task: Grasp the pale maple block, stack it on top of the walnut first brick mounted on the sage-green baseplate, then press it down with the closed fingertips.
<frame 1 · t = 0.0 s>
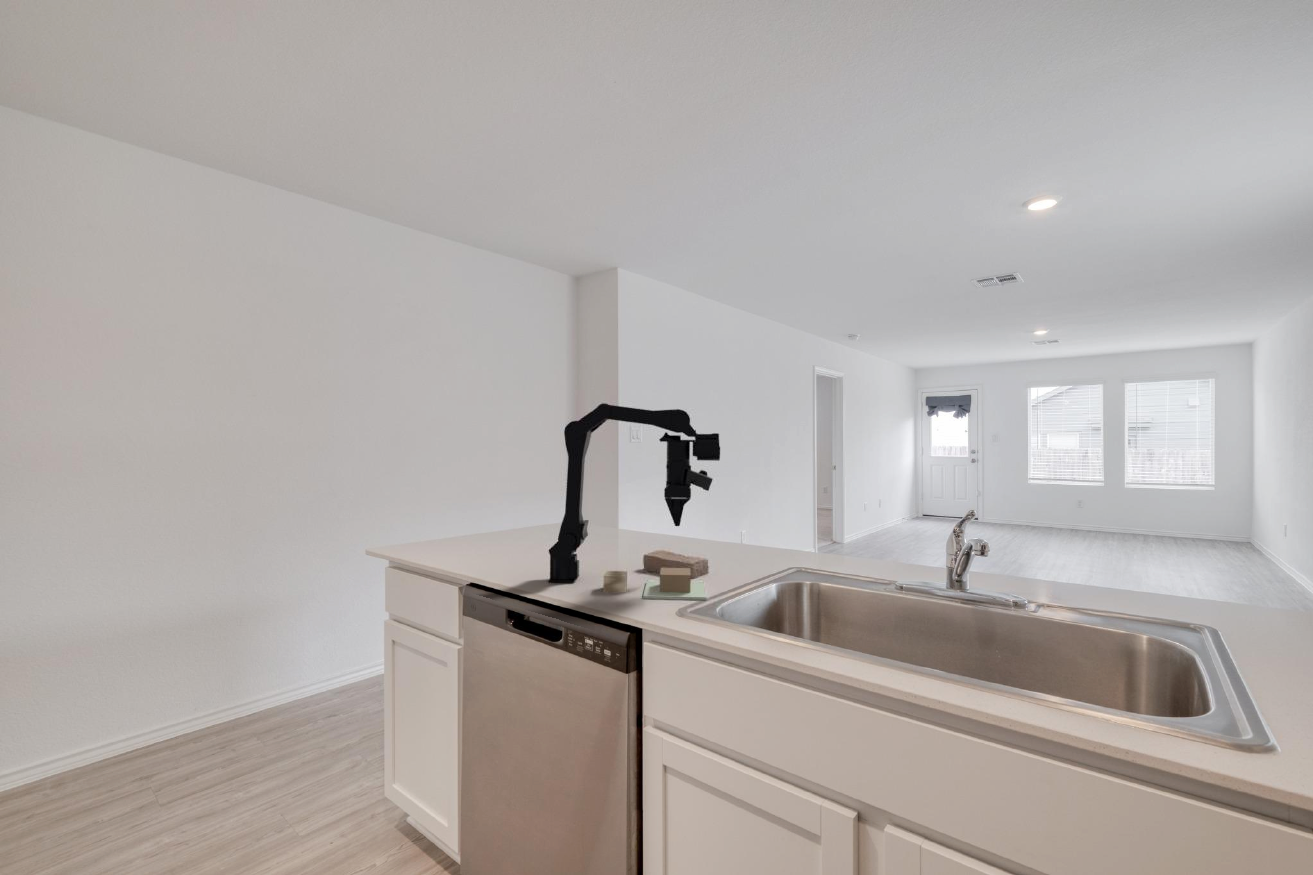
hand: (677, 523, 143), 15 cm above the countertop, fingers open, 9 cm apart
baseplate: (675, 590, 135), on the countertop
brick: (675, 573, 155), on the countertop
maple block: (615, 590, 136), on the countertop
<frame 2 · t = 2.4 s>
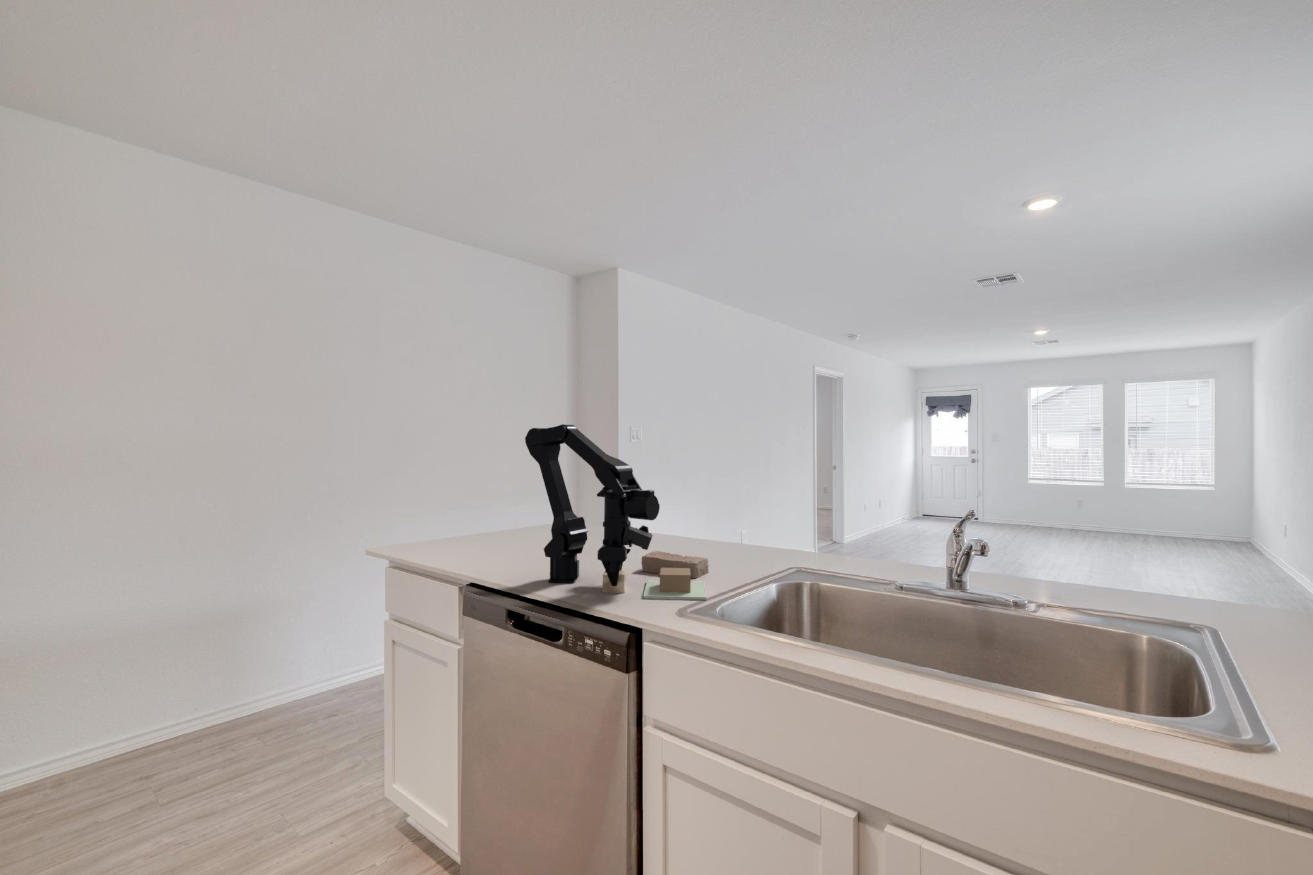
hand: (615, 583, 136), 2 cm above the countertop, fingers closed on maple block, 5 cm apart
maple block: (614, 589, 136), on the countertop, touching gripper
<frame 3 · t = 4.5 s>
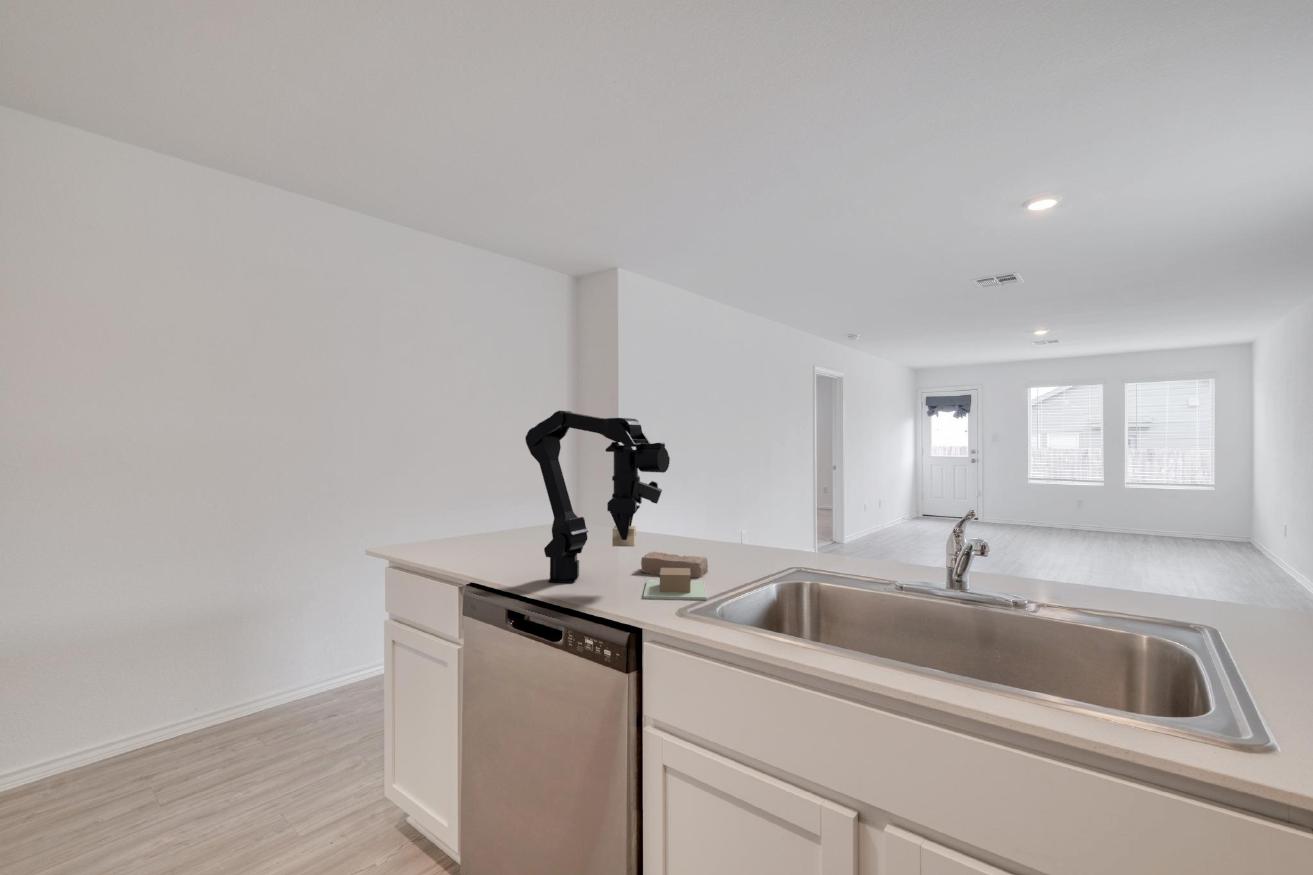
hand: (625, 537, 136), 12 cm above the countertop, fingers closed on maple block, 5 cm apart
maple block: (624, 544, 136), point 11 cm above the countertop, touching gripper
when the fingers open (7 cm above the countertop, at t = 6.4 s): maple block drops 1 cm, resting on baseplate.
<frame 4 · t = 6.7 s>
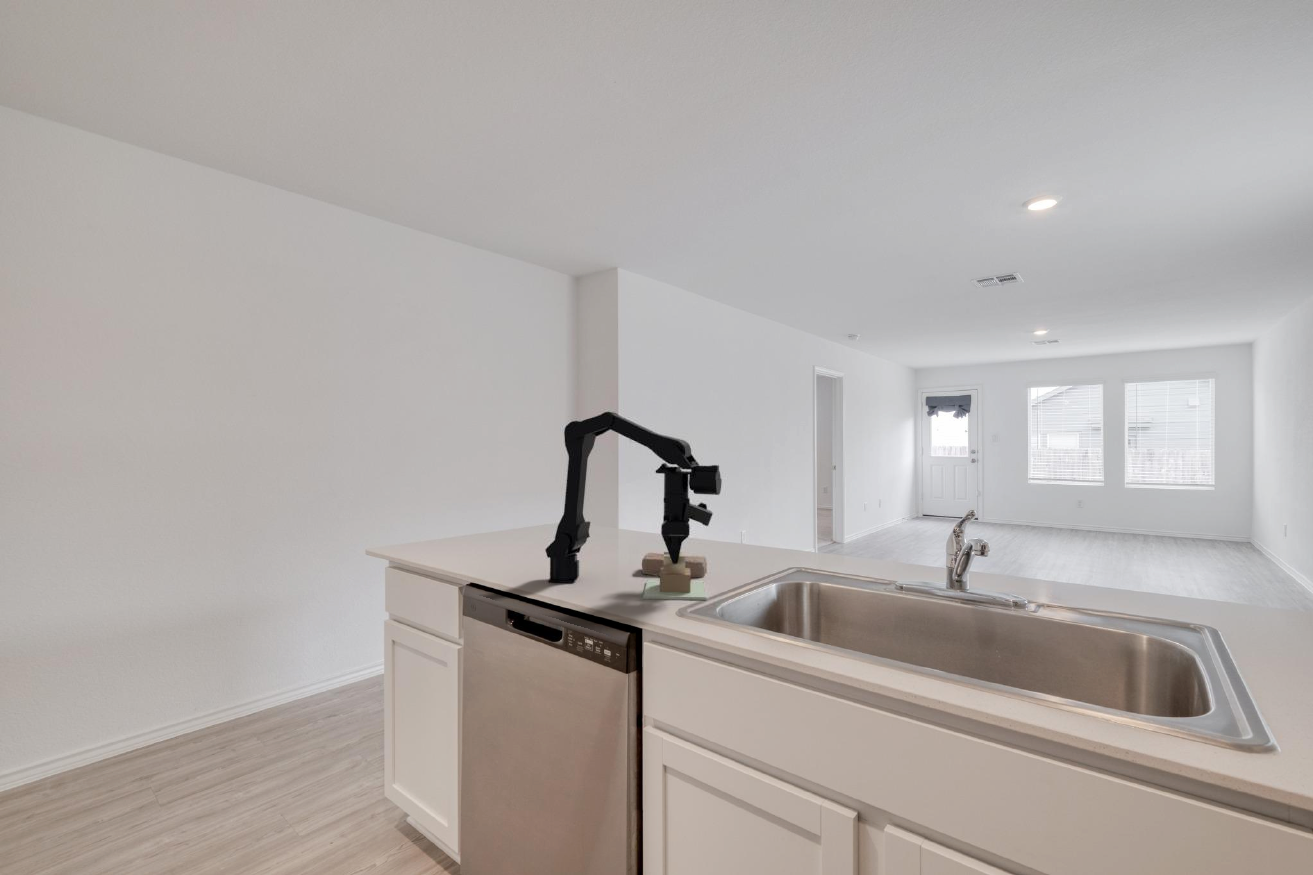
hand: (675, 559, 135), 7 cm above the countertop, fingers open, 8 cm apart
maple block: (674, 571, 135), point 5 cm above the countertop, touching baseplate
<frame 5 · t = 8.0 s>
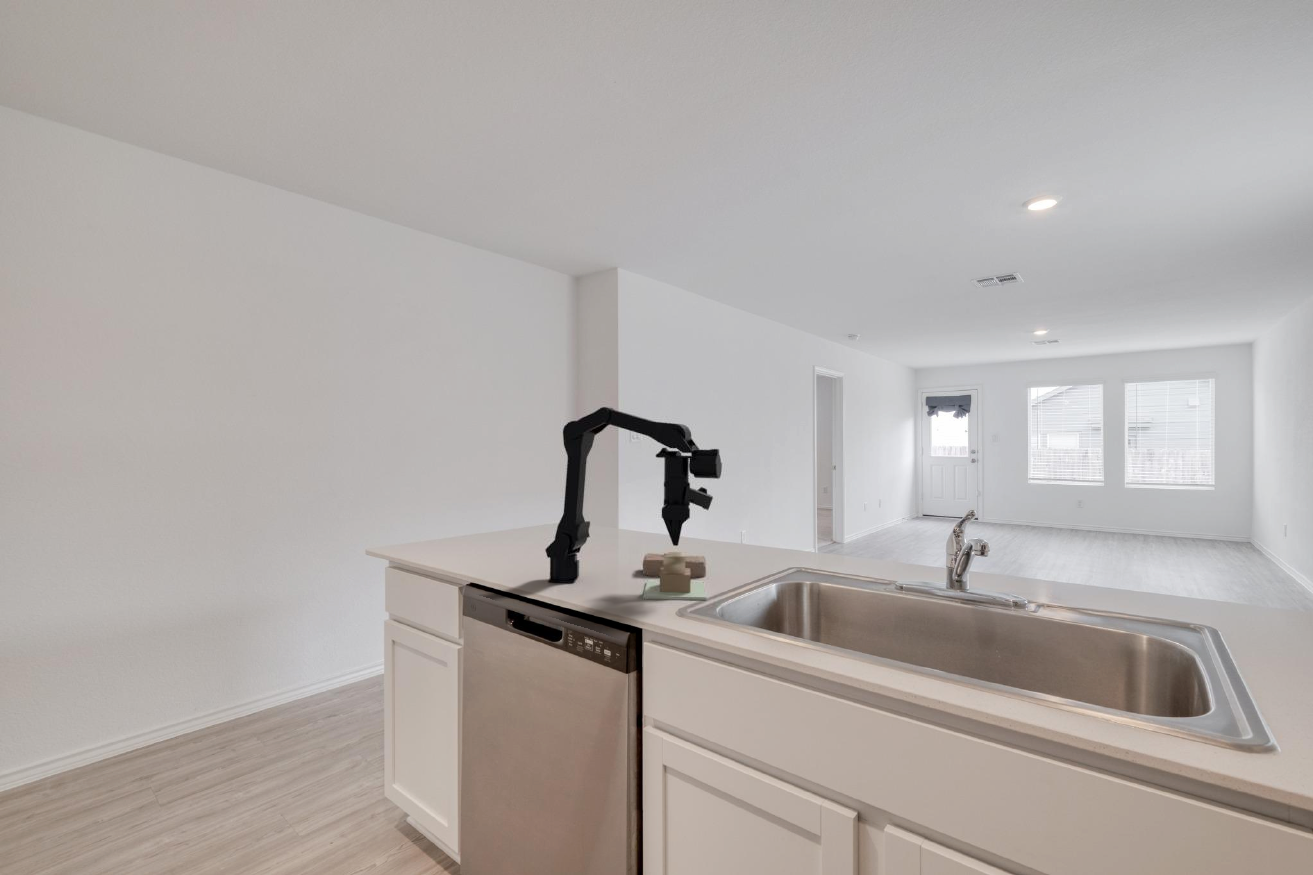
hand: (675, 544, 135), 11 cm above the countertop, fingers open, 4 cm apart
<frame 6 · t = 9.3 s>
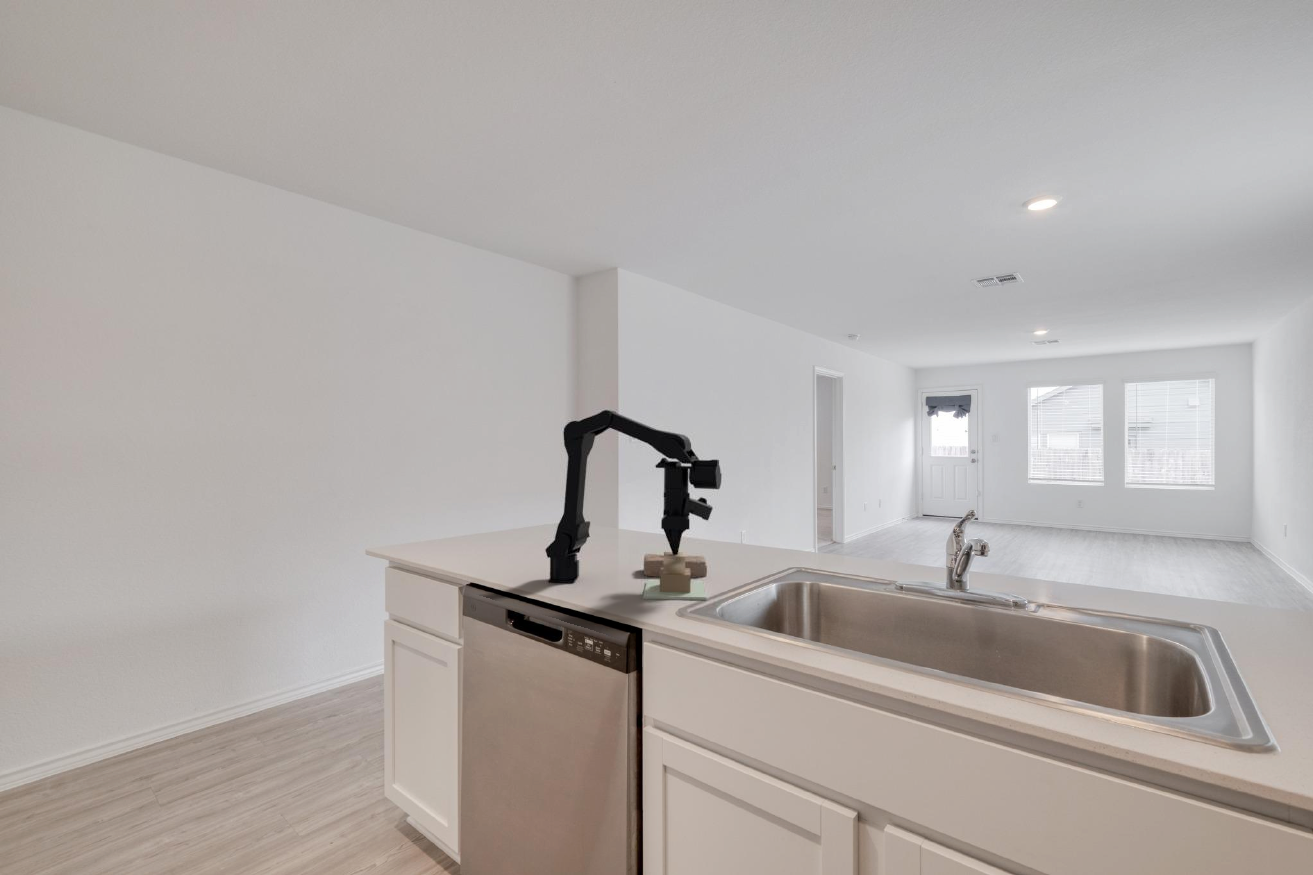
hand: (675, 554, 135), 9 cm above the countertop, fingers closed, pressing on maple block
maple block: (674, 571, 135), point 5 cm above the countertop, touching baseplate, gripper
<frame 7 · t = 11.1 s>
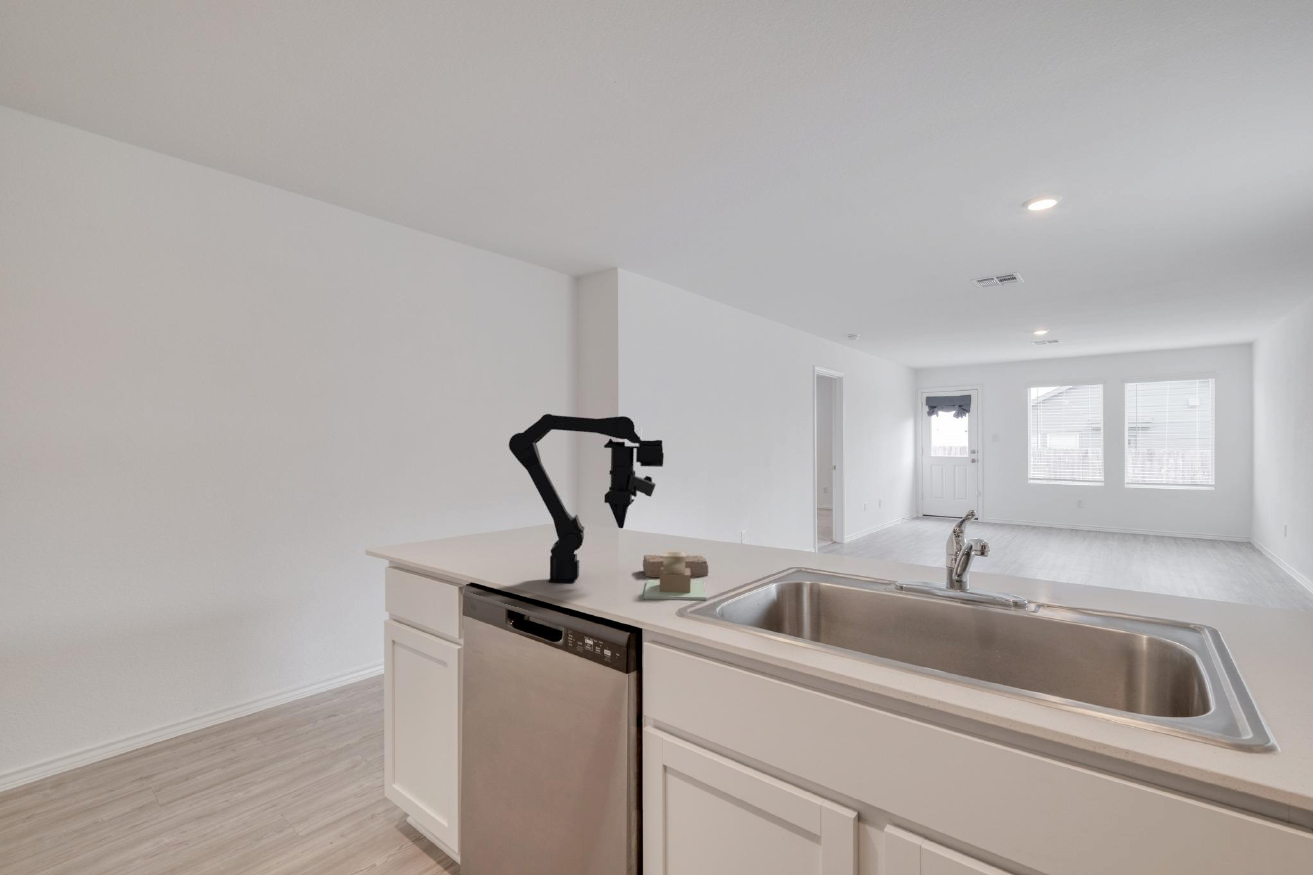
hand: (621, 528, 146), 13 cm above the countertop, fingers closed
maple block: (674, 571, 135), point 5 cm above the countertop, touching baseplate
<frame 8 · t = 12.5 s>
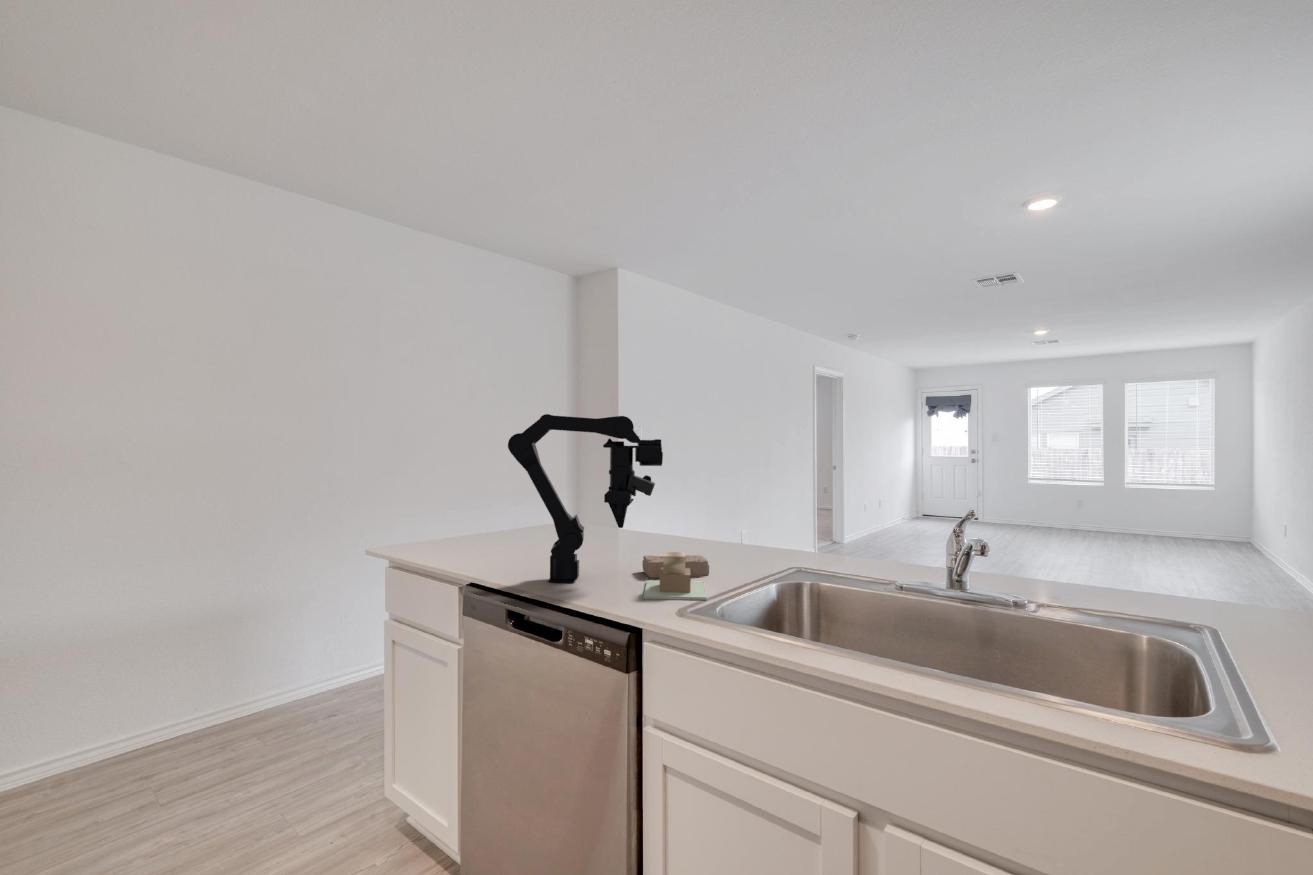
hand: (620, 527, 146), 13 cm above the countertop, fingers closed
at the end: maple block 0.3 cm off-centre on the baseplate, point 4.6 cm above the baseplate's base; maple block tilted 0°; the gripper is holding nothing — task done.
